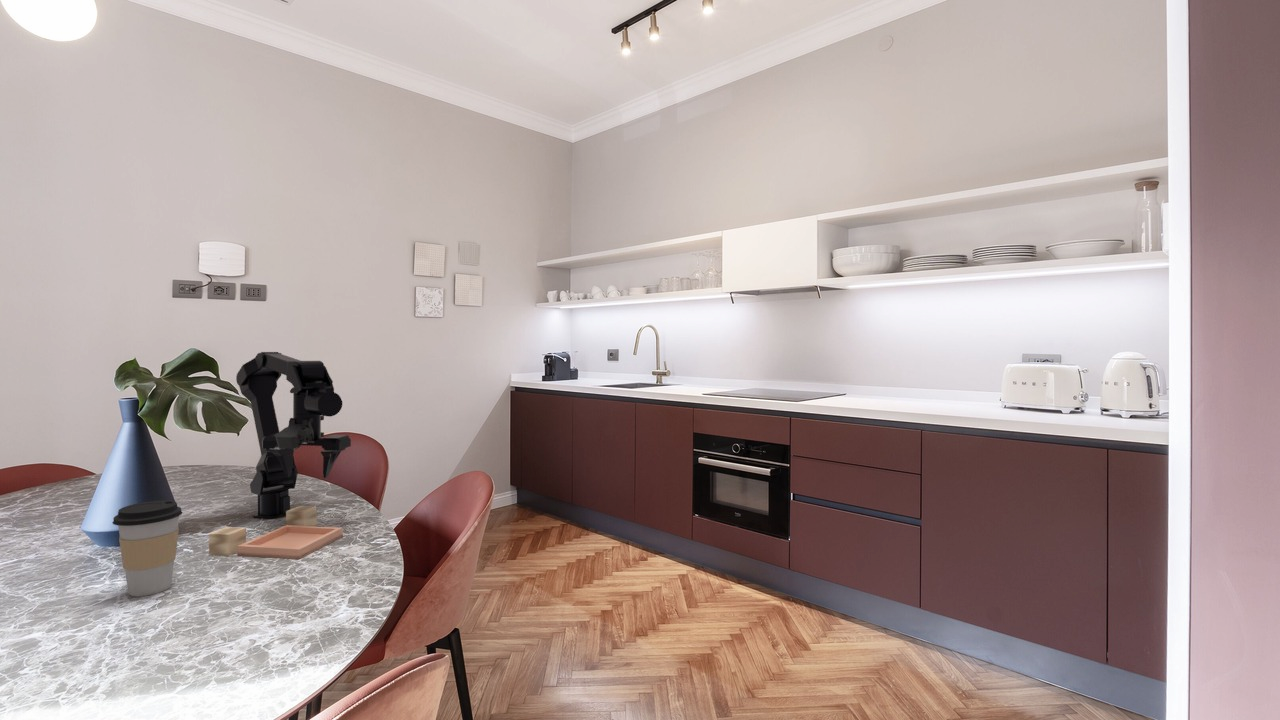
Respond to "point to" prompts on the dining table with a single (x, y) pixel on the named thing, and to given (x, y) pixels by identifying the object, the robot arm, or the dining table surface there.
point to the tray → (290, 542)
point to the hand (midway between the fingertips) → (307, 477)
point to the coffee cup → (148, 545)
